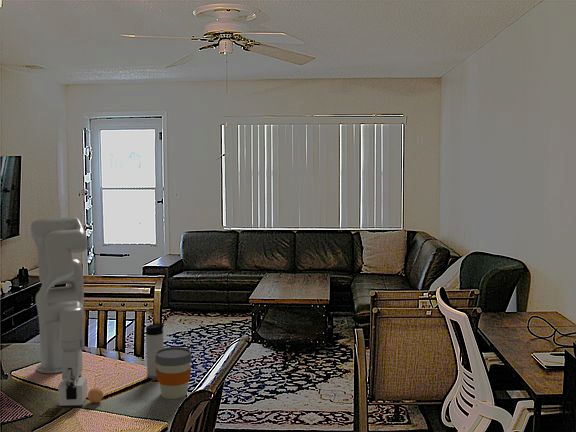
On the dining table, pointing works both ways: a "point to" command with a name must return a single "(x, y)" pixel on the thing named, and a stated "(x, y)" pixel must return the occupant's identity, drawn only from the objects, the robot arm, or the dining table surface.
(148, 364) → the travel mug
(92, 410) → the dining table surface
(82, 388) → the white block
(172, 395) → the reusable coffee cup
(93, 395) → the ball
